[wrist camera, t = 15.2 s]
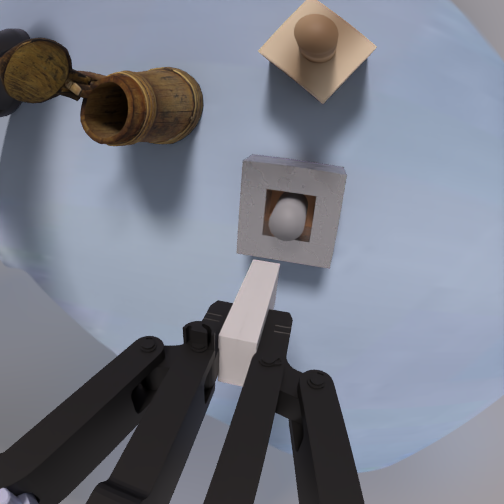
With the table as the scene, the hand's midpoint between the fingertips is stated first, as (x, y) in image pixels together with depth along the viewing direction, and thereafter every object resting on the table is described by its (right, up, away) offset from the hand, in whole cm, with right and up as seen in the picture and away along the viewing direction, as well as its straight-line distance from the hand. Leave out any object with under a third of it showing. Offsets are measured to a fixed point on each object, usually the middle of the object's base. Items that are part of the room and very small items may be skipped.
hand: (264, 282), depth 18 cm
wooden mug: (-12, +20, +14) cm, 27 cm away
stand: (+6, +21, +9) cm, 23 cm away
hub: (+4, +7, +16) cm, 18 cm away
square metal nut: (+3, +7, +14) cm, 16 cm away
